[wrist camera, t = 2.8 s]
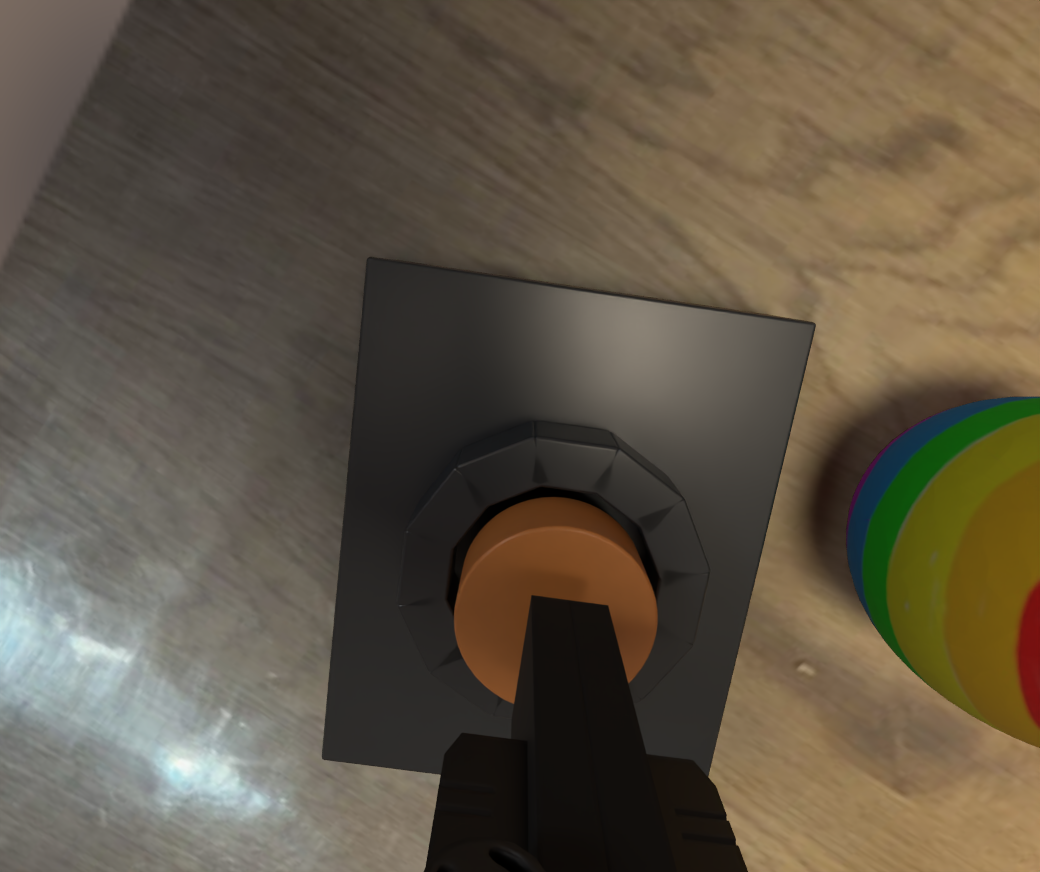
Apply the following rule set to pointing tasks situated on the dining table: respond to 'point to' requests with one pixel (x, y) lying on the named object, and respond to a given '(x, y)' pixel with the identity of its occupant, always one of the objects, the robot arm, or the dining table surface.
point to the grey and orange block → (548, 487)
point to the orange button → (548, 584)
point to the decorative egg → (959, 557)
